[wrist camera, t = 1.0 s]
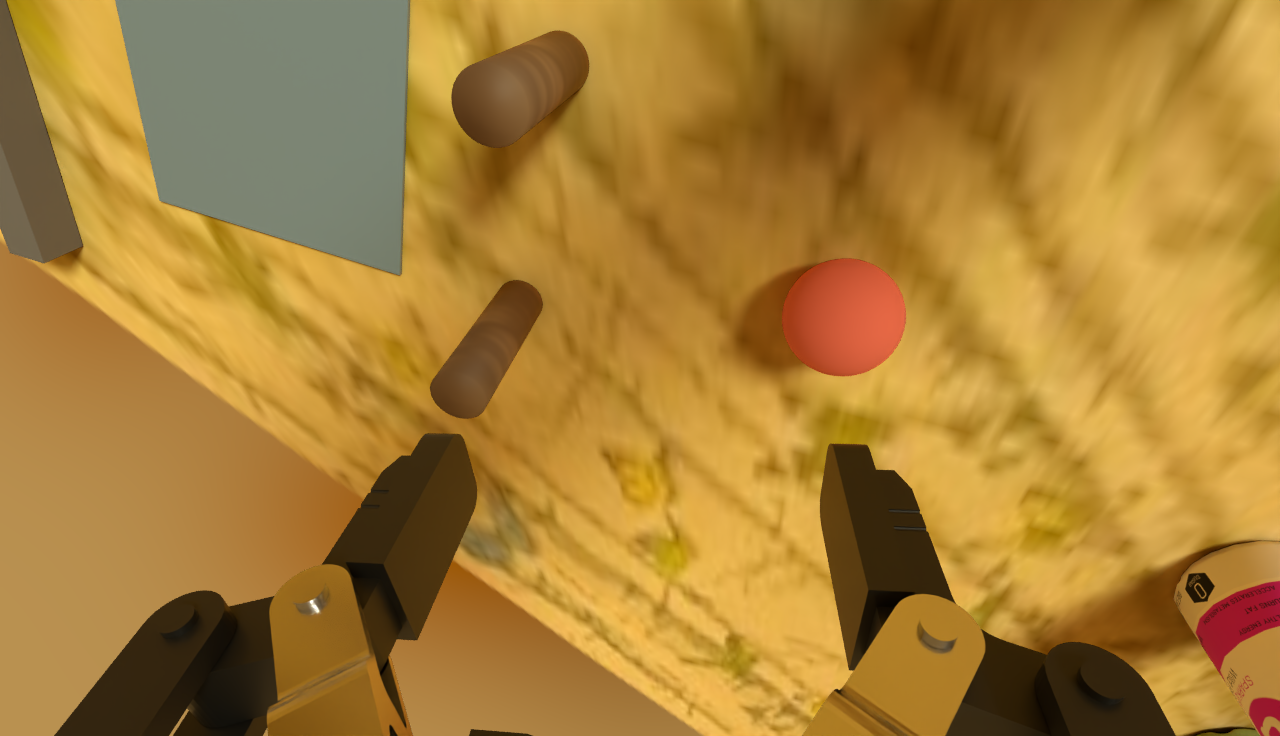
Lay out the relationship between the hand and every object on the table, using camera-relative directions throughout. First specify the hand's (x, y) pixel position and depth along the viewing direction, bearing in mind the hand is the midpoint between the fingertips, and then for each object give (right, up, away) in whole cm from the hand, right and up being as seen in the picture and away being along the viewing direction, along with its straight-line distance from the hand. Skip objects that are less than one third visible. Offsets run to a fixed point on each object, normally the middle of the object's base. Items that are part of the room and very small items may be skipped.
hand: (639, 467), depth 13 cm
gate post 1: (-4, +16, +14) cm, 21 cm away
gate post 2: (-7, +6, +21) cm, 23 cm away
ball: (+10, +5, +16) cm, 19 cm away
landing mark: (-19, +15, +17) cm, 29 cm away
